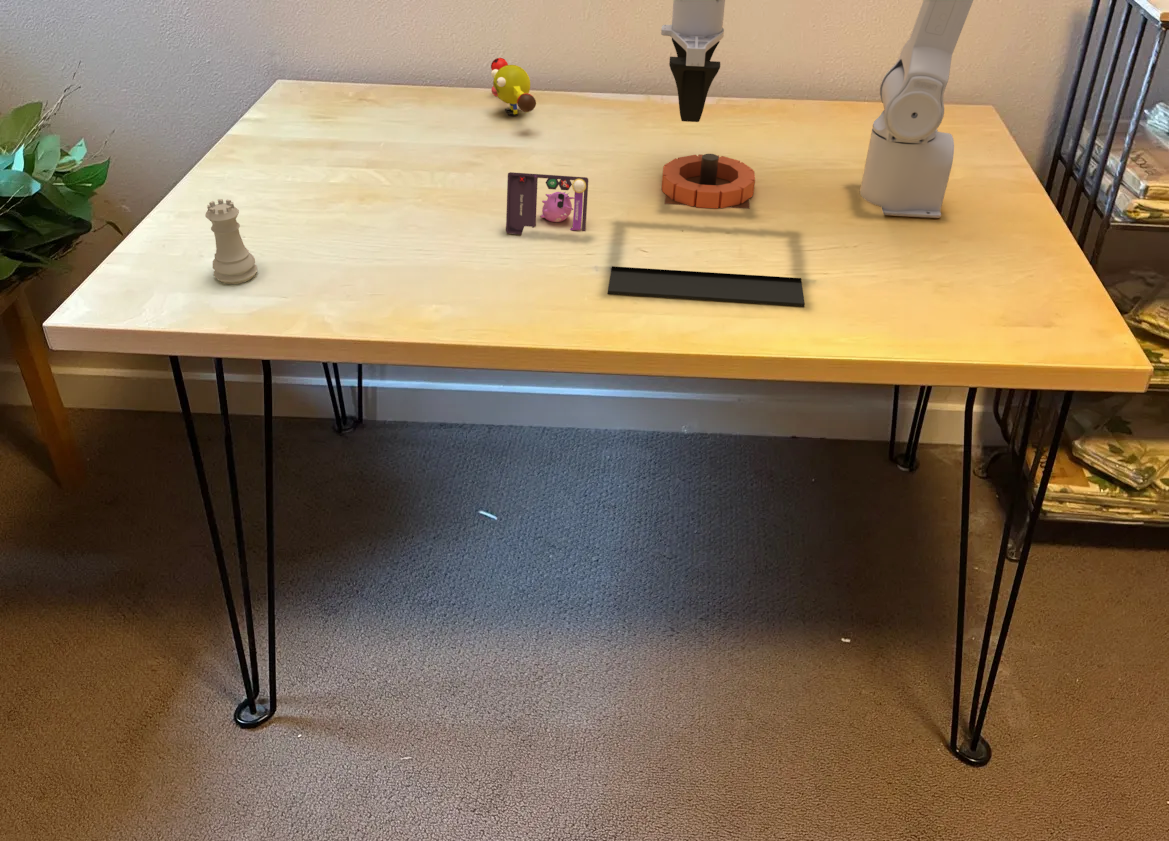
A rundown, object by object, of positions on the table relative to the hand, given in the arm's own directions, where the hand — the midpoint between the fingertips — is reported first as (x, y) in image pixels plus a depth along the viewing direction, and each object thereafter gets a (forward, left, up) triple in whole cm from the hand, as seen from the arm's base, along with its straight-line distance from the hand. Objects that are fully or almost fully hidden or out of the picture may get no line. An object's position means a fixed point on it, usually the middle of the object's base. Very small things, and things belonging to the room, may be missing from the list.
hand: (690, 108), depth 116 cm
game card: (+15, +14, -10) cm, 23 cm away
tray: (-3, +20, -10) cm, 22 cm away
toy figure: (+25, -21, -10) cm, 34 cm away
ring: (-3, +3, -9) cm, 9 cm away
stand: (-3, +3, -10) cm, 10 cm away
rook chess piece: (+46, +29, -10) cm, 55 cm away
